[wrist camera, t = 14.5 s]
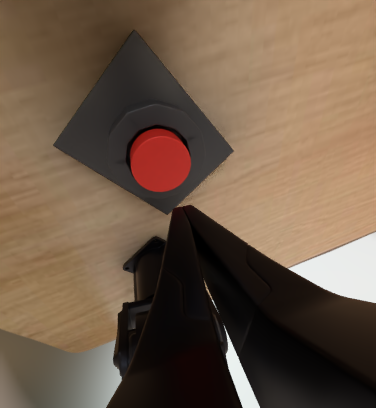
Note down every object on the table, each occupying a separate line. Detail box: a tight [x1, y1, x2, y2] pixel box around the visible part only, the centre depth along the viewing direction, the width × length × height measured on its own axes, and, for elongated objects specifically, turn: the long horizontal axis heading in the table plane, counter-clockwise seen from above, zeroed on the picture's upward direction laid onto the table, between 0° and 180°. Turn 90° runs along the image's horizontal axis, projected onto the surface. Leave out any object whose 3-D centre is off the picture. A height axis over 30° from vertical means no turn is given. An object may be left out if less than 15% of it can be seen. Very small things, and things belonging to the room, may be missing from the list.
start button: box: [130, 129, 191, 192], centre depth 13 cm, size 4×4×2 cm
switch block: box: [53, 30, 233, 215], centre depth 15 cm, size 9×11×4 cm
